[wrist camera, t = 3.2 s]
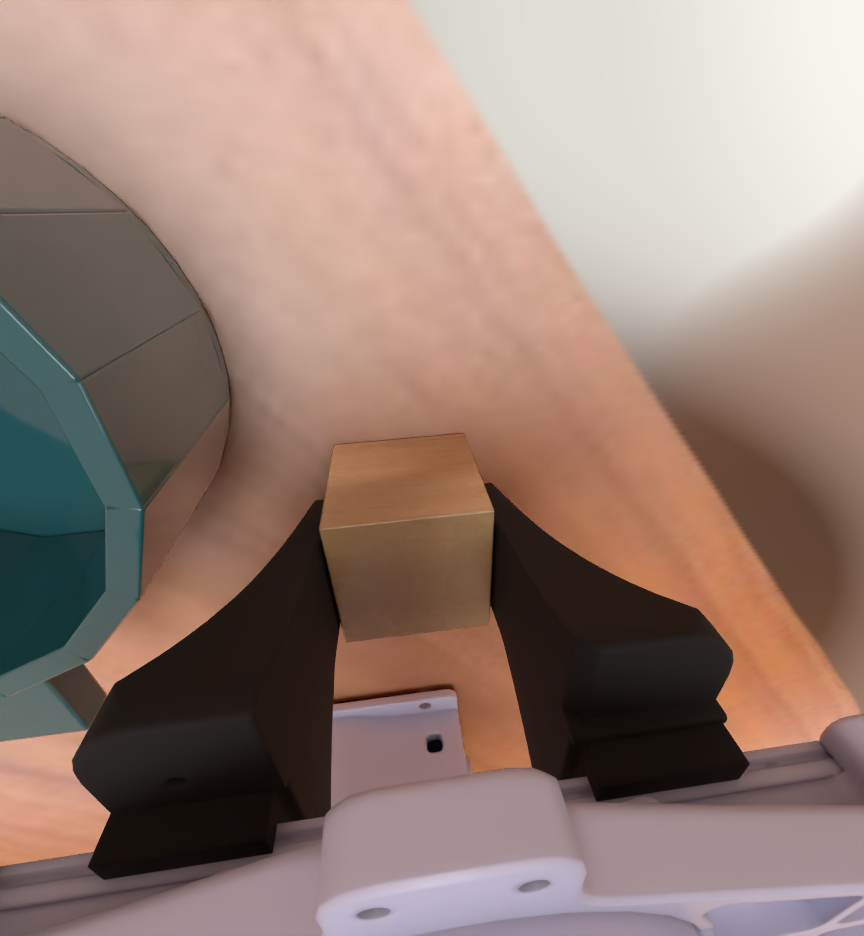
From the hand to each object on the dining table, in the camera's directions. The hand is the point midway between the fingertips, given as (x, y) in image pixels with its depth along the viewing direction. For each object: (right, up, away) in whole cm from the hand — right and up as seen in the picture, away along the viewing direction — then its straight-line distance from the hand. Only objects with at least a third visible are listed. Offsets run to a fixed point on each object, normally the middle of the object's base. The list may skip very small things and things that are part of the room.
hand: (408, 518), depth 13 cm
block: (0, +1, +1) cm, 1 cm away
